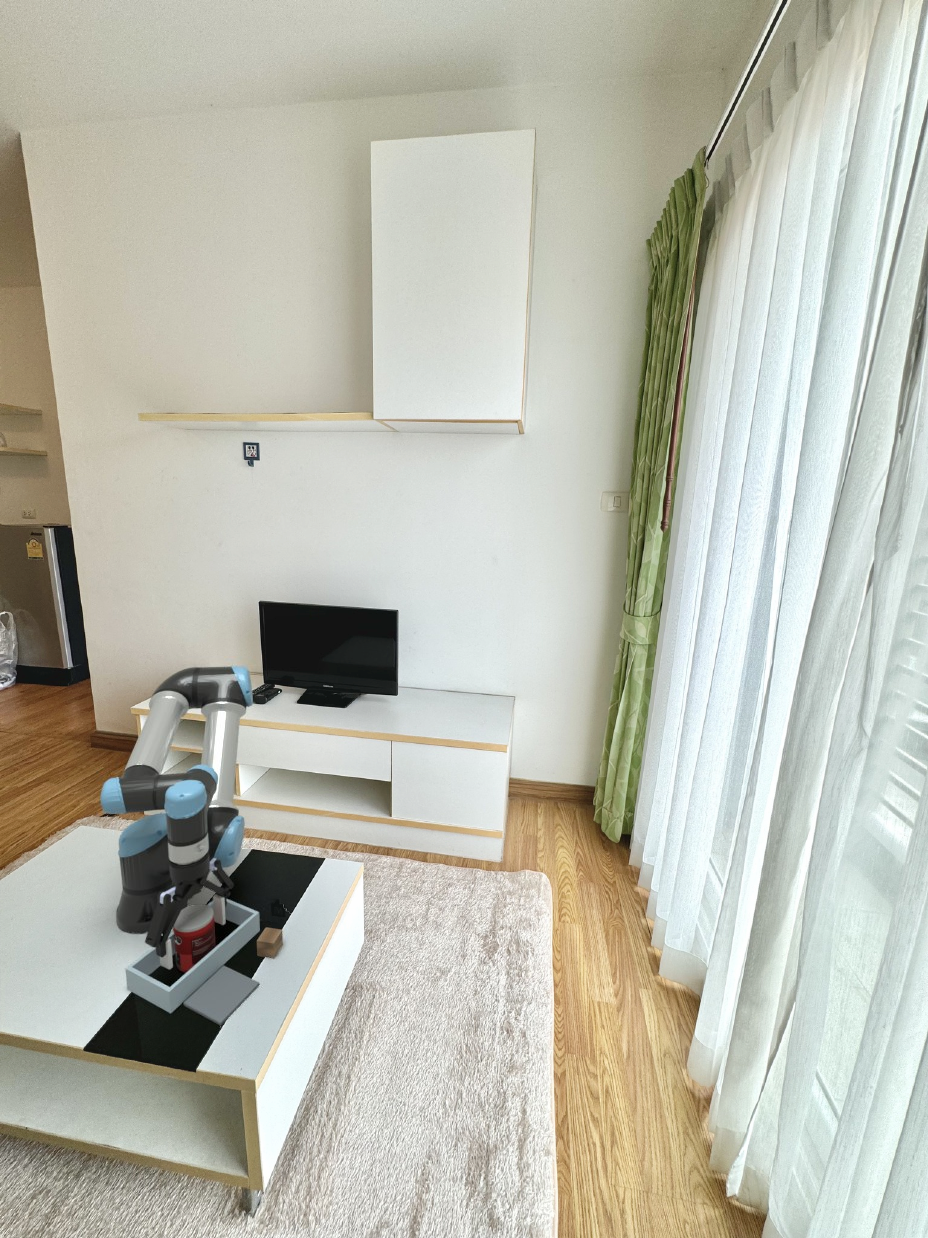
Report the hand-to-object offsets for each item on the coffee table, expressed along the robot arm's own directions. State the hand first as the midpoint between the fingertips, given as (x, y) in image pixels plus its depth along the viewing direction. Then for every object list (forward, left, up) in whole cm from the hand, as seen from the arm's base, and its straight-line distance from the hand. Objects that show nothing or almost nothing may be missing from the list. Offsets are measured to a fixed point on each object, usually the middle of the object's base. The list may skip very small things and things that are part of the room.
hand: (194, 943), depth 117 cm
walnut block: (+12, +9, -5) cm, 16 cm away
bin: (0, +1, -5) cm, 5 cm away
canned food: (0, 0, -5) cm, 5 cm away
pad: (+12, -4, -5) cm, 13 cm away
